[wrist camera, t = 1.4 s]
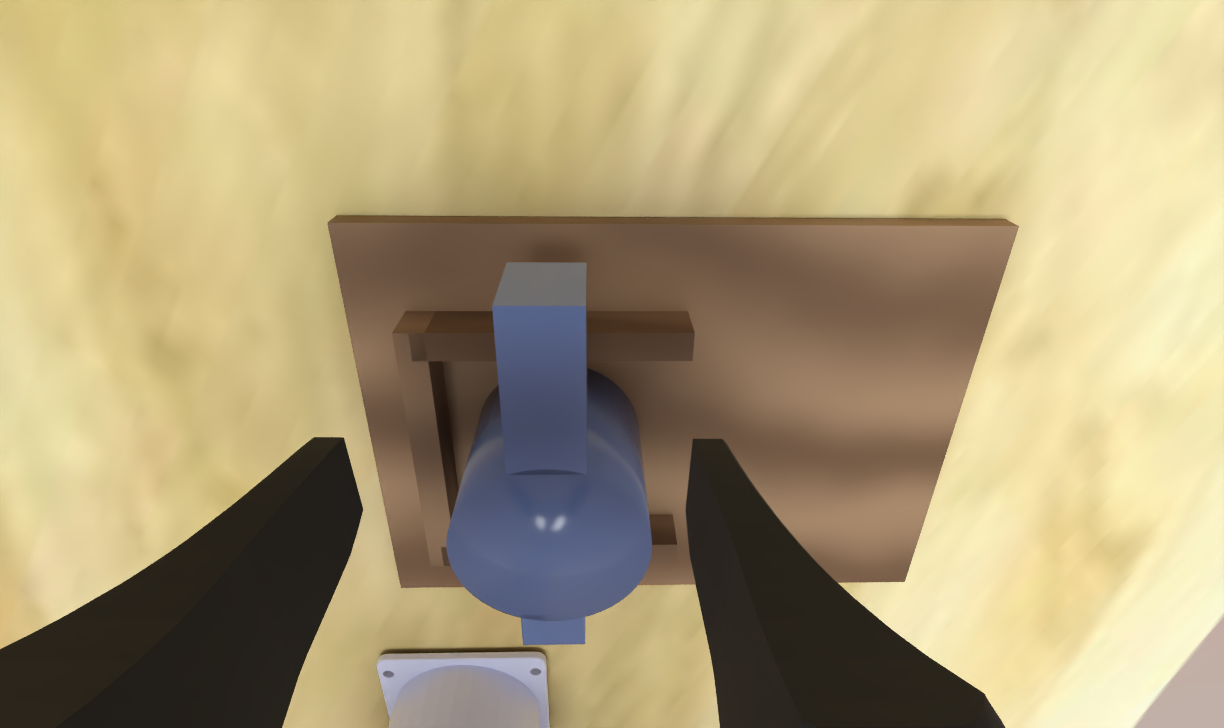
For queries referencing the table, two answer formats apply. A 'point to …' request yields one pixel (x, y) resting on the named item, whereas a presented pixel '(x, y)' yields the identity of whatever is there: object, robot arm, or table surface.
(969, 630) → the table surface
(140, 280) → the table surface
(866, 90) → the table surface
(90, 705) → the robot arm
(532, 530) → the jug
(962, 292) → the stand
